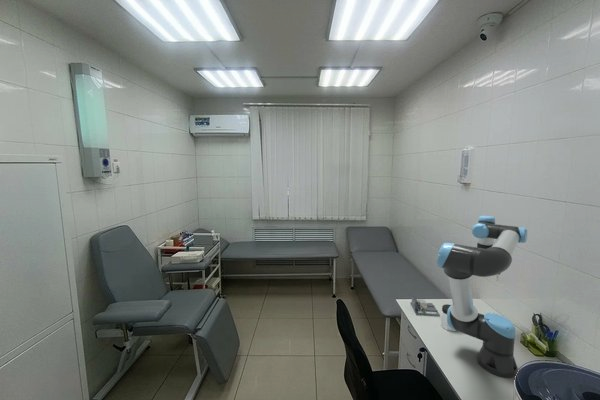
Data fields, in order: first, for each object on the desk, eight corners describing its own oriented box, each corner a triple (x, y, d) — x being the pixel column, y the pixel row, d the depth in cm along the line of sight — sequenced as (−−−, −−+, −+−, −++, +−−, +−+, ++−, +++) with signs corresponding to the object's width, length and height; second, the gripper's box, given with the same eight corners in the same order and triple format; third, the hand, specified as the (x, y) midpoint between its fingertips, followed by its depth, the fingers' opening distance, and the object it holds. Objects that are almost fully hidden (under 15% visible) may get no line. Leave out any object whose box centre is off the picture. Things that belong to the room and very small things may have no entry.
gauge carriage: (428, 311, 168) (428, 306, 168) (421, 311, 169) (421, 305, 168) (424, 305, 176) (424, 299, 176) (417, 304, 177) (418, 299, 177)
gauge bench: (439, 316, 166) (440, 305, 165) (416, 315, 169) (416, 304, 168) (432, 304, 180) (432, 294, 179) (410, 303, 182) (410, 293, 181)
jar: (454, 333, 149) (455, 313, 148) (439, 327, 155) (439, 308, 154) (459, 326, 156) (460, 307, 154) (444, 321, 161) (445, 302, 160)
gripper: (505, 241, 151) (503, 277, 154) (458, 241, 155) (456, 275, 158) (514, 245, 144) (511, 283, 146) (464, 244, 147) (462, 281, 150)
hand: (483, 279), depth 152 cm, fingers open, 13 cm apart
